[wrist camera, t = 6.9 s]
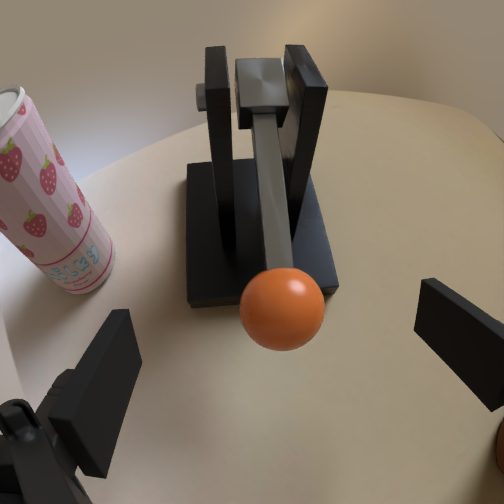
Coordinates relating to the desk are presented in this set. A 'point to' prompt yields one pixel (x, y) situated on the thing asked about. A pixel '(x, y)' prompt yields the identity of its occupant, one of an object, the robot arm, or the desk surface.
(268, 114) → the switch lever
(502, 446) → the mug
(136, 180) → the desk surface
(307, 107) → the switch bracket
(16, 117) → the beverage can
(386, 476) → the desk surface
